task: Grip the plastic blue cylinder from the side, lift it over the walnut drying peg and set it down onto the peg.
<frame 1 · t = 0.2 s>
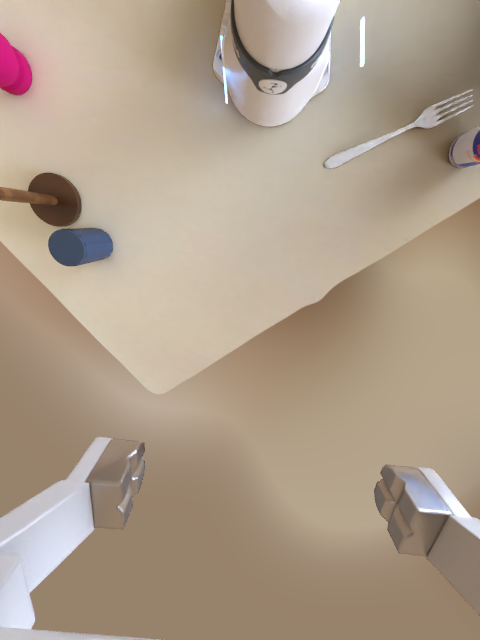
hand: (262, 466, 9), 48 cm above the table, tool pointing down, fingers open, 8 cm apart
blue cylinder: (97, 244, 53), on the table
peg stand: (57, 200, 50), on the table
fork: (391, 135, 46), on the table
energy drink: (462, 151, 47), on the table
pepper mill: (14, 72, 44), on the table
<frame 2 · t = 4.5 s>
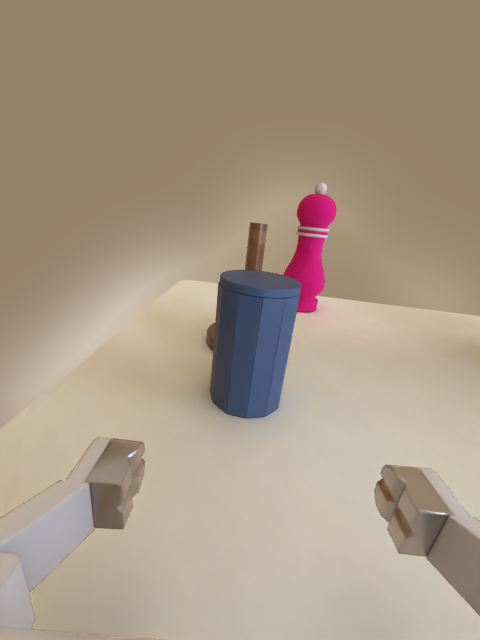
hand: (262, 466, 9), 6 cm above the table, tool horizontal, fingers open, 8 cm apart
blue cylinder: (245, 393, 23), on the table
peg stand: (244, 342, 32), on the table
pepper mill: (298, 307, 48), on the table
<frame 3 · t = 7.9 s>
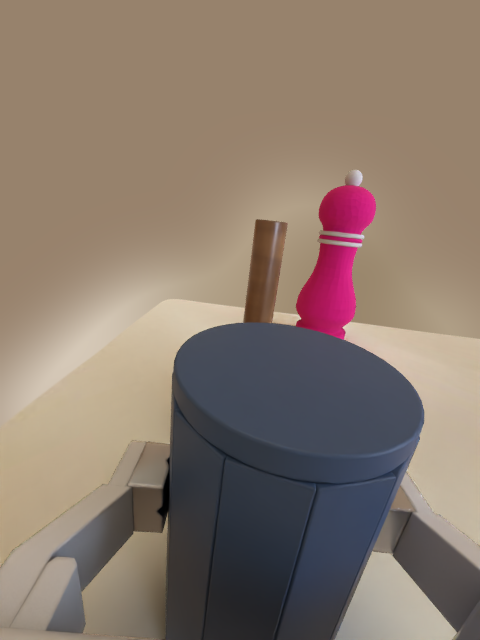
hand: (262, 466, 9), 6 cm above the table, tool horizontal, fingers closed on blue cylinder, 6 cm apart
blue cylinder: (245, 596, 10), on the table, touching gripper
peg stand: (244, 416, 20), on the table
pepper mill: (317, 340, 36), on the table
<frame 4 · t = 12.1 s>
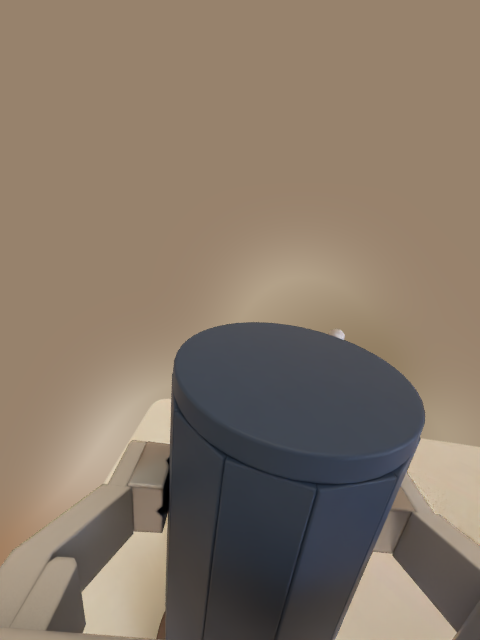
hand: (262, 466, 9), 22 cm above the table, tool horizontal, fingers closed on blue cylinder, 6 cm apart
blue cylinder: (245, 596, 10), point 16 cm above the table, touching gripper
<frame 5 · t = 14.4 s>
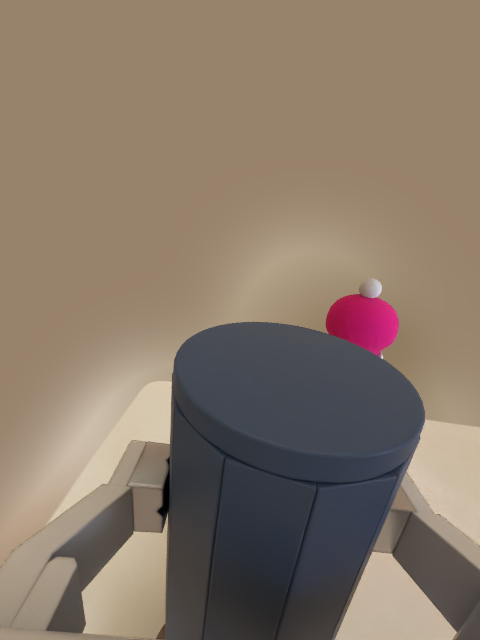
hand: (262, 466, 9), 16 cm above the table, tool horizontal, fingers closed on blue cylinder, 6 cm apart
blue cylinder: (245, 596, 10), point 10 cm above the table, touching gripper
pepper mill: (323, 458, 30), on the table
when the fingers open (10 cm above the table, at t = 16.6 s): blue cylinder stays where it is, resting on peg stand.
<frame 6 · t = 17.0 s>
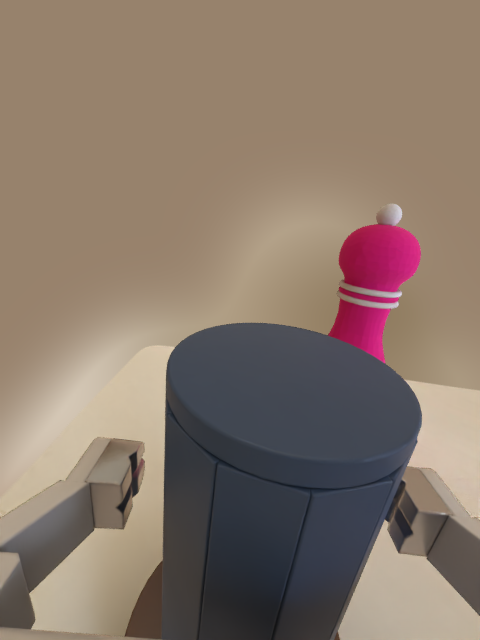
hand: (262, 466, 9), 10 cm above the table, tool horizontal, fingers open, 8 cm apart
blue cylinder: (242, 599, 10), point 4 cm above the table, touching peg stand
pepper mill: (334, 415, 28), on the table
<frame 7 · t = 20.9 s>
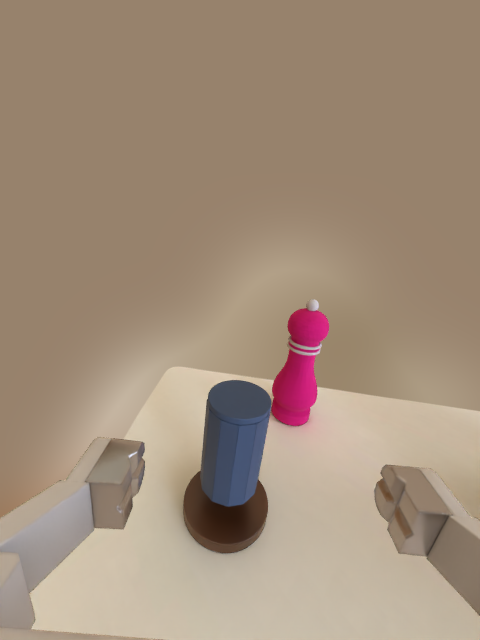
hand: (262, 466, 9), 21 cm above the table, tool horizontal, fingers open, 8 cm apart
blue cylinder: (228, 478, 28), point 4 cm above the table, touching peg stand
peg stand: (225, 505, 29), on the table
pepper mill: (289, 414, 45), on the table
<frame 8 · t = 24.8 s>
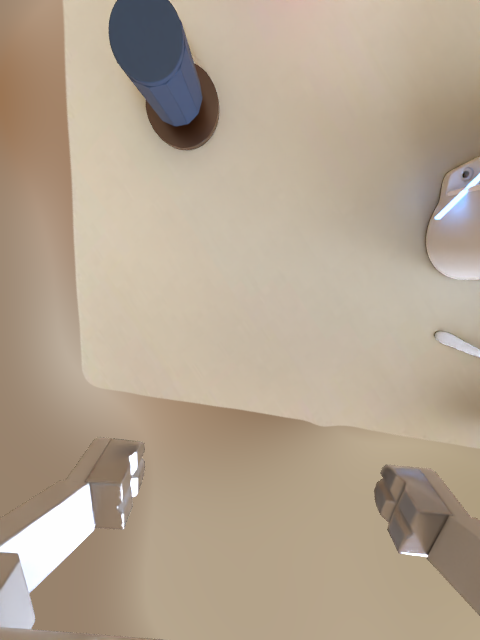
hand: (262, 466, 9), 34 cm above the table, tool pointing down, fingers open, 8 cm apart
blue cylinder: (176, 95, 30), point 4 cm above the table, touching peg stand
peg stand: (184, 109, 34), on the table
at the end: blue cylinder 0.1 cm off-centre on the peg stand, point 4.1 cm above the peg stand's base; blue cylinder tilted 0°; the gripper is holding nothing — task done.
